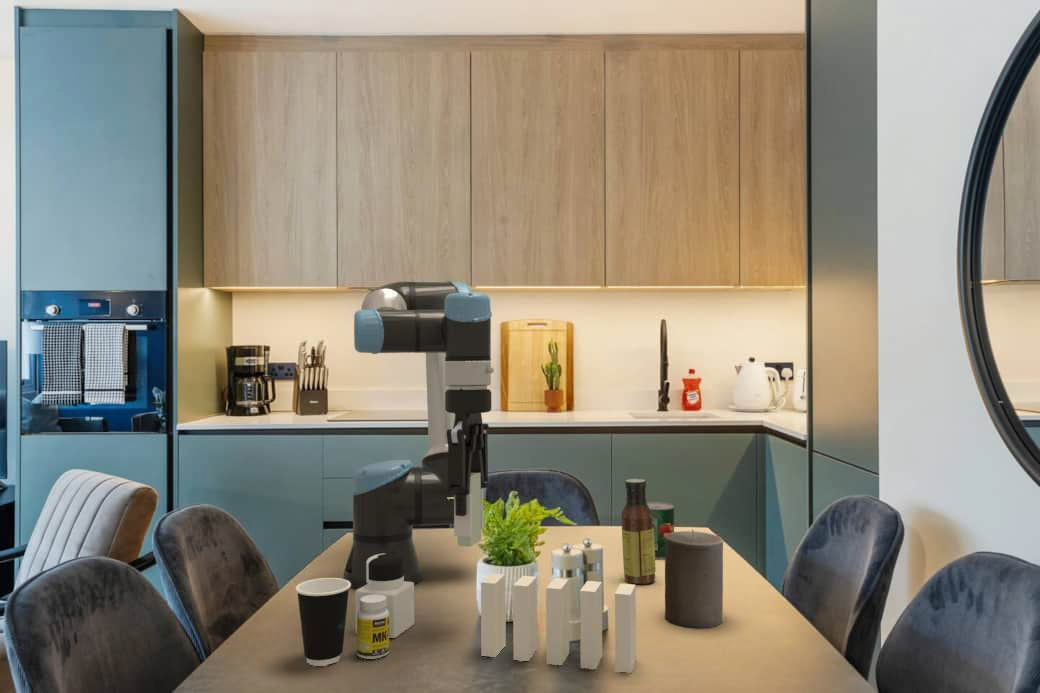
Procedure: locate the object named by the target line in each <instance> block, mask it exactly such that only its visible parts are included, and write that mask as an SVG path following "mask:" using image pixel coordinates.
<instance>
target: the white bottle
mask: <svg viewBox="0 0 1040 693" xmlns="http://www.w3.org/2000/svg"><path fill="white" fill-rule="evenodd" d="M366 582H367V583H368V584H367V585H365V586H363V587H361V588H359V589H355V597H354V598H355V599H354V600H355V634H356V635H357V614H358V612H359V611H360V610H361V609H360V598H361V597H363V596H367V595H374V594H377V595H384V596H386V597H387V607H386V609H387V610H388V611H389V638H395V639H396V638H398V637H399V636H400V635H402V634H403V633H404V632H406V631H407V630H409V629H410V628H412V625H413V626H414V625H415V584H414V583H413V582H406V581H404V559H403V558H402V557H401V556H399V555H397V554H391V553H384V554H377V555H374V556H372V557H370V558H369V559H368V560H367V561H366ZM405 630H406V631H405ZM401 633H402V634H401Z"/></svg>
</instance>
